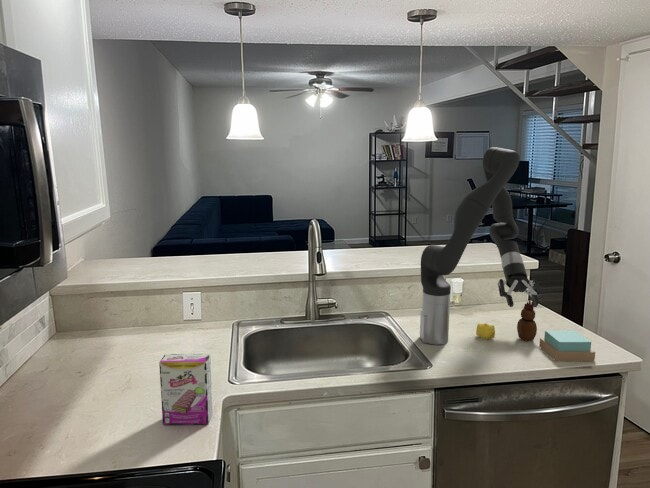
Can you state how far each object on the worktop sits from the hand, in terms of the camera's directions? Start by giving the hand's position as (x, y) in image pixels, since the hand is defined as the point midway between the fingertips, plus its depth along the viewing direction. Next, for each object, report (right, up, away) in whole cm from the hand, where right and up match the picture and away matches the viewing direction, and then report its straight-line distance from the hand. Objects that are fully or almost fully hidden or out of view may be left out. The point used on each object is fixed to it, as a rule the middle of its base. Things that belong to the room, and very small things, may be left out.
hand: (524, 306), depth 171 cm
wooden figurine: (0, -12, -2) cm, 12 cm away
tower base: (+8, -14, -13) cm, 21 cm away
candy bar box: (-104, -21, -53) cm, 118 cm away
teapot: (-13, -11, 0) cm, 17 cm away
